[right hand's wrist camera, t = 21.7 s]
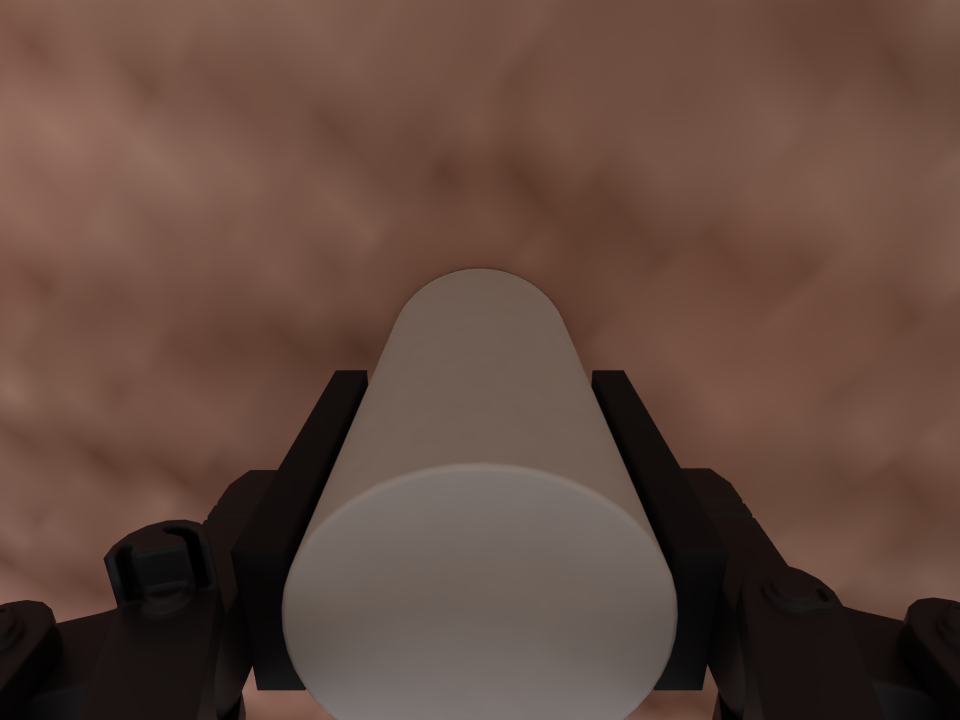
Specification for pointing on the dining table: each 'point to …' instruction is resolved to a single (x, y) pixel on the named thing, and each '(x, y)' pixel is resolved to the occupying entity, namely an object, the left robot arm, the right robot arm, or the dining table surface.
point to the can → (479, 530)
